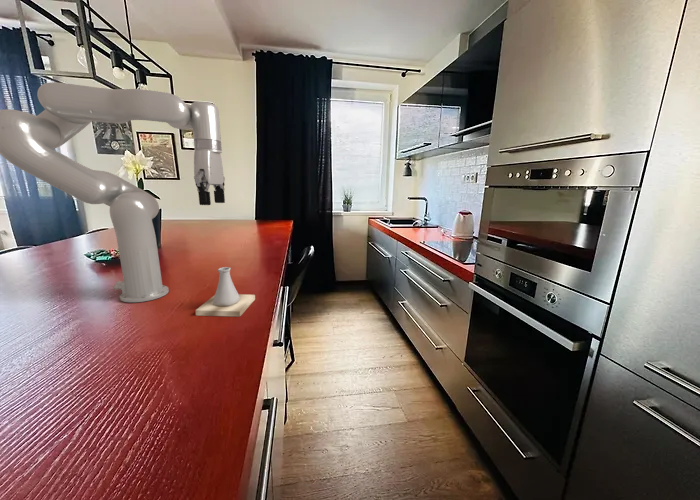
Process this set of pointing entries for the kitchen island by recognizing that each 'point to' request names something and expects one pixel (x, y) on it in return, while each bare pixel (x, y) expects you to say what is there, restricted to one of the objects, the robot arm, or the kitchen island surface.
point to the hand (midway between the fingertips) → (212, 203)
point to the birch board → (225, 307)
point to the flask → (225, 289)
